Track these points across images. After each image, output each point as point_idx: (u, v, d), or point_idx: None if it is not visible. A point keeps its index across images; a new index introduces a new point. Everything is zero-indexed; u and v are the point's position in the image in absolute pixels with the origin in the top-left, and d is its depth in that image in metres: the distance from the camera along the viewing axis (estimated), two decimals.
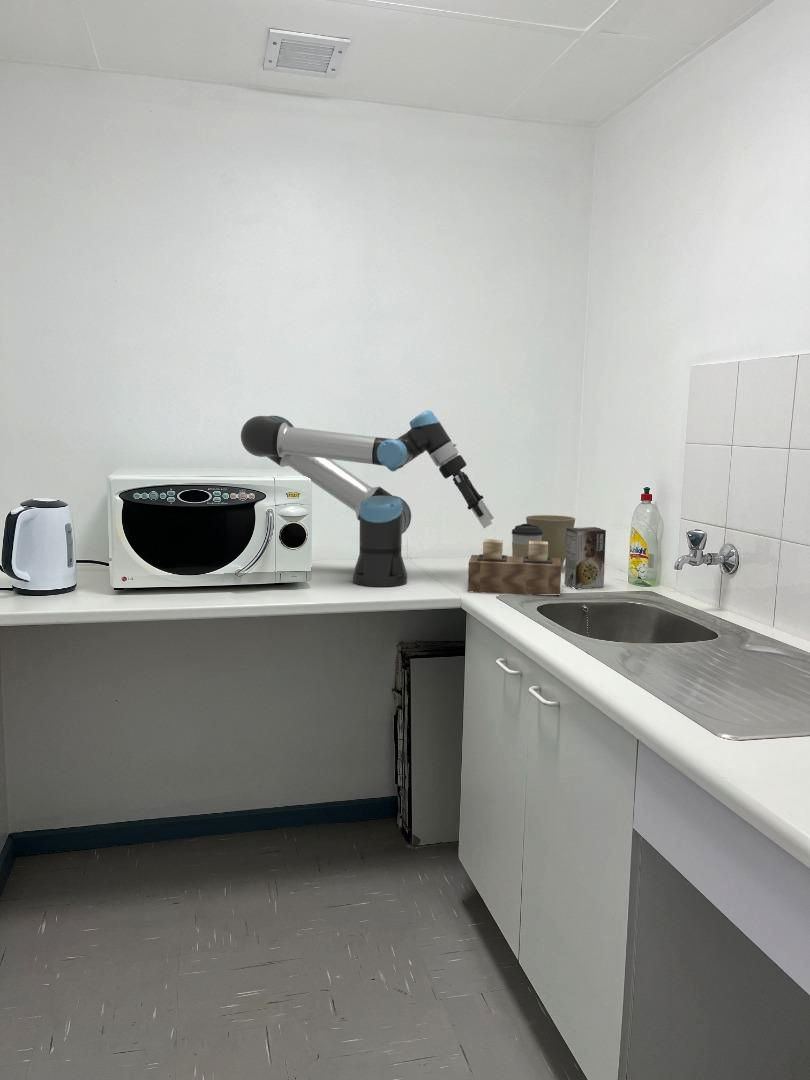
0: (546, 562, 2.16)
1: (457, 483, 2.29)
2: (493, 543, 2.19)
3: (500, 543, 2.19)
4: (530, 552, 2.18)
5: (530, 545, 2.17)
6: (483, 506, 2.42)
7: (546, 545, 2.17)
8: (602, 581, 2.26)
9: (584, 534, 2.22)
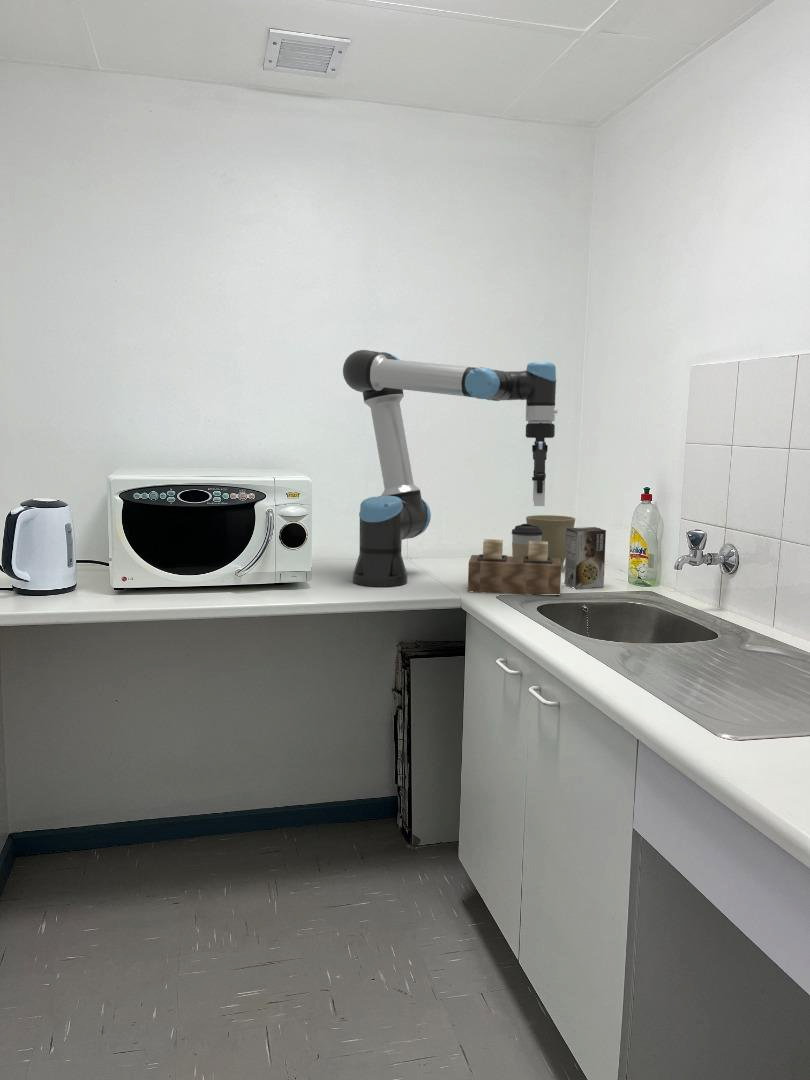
0: (546, 562, 2.16)
1: (537, 449, 2.10)
2: (493, 543, 2.19)
3: (500, 543, 2.19)
4: (530, 552, 2.18)
5: (530, 545, 2.17)
6: None
7: (546, 545, 2.17)
8: (602, 581, 2.26)
9: (584, 534, 2.22)
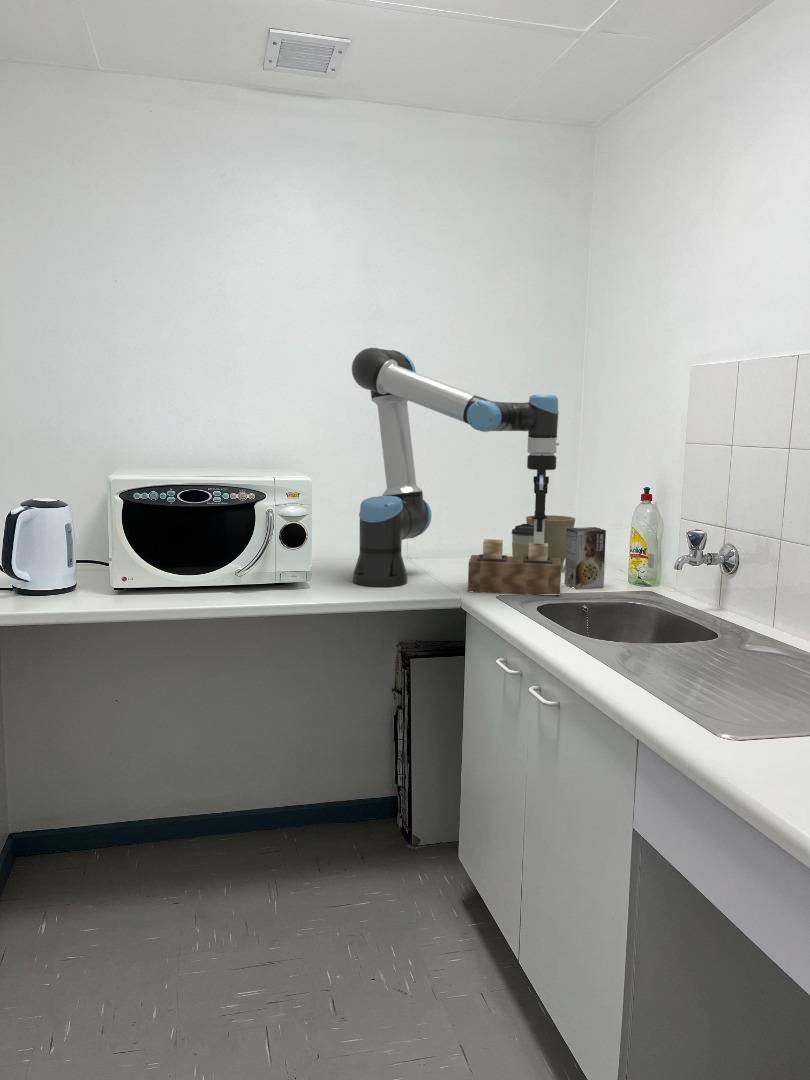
0: (546, 562, 2.16)
1: (538, 490, 2.12)
2: (493, 543, 2.19)
3: (500, 543, 2.19)
4: (530, 554, 2.18)
5: (530, 547, 2.17)
6: None
7: (546, 547, 2.17)
8: (602, 581, 2.26)
9: (584, 534, 2.22)
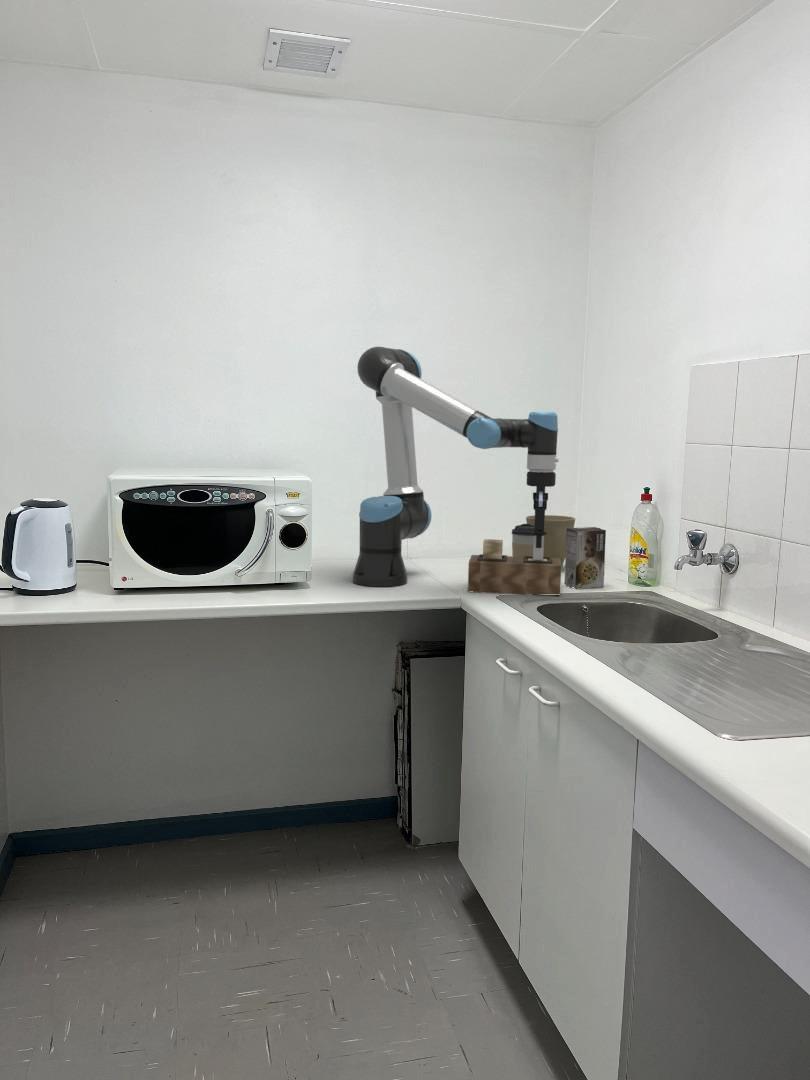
0: (546, 562, 2.16)
1: (537, 507, 2.13)
2: (493, 543, 2.19)
3: (500, 543, 2.19)
4: None
5: None
6: None
7: None
8: (602, 581, 2.26)
9: (584, 534, 2.22)
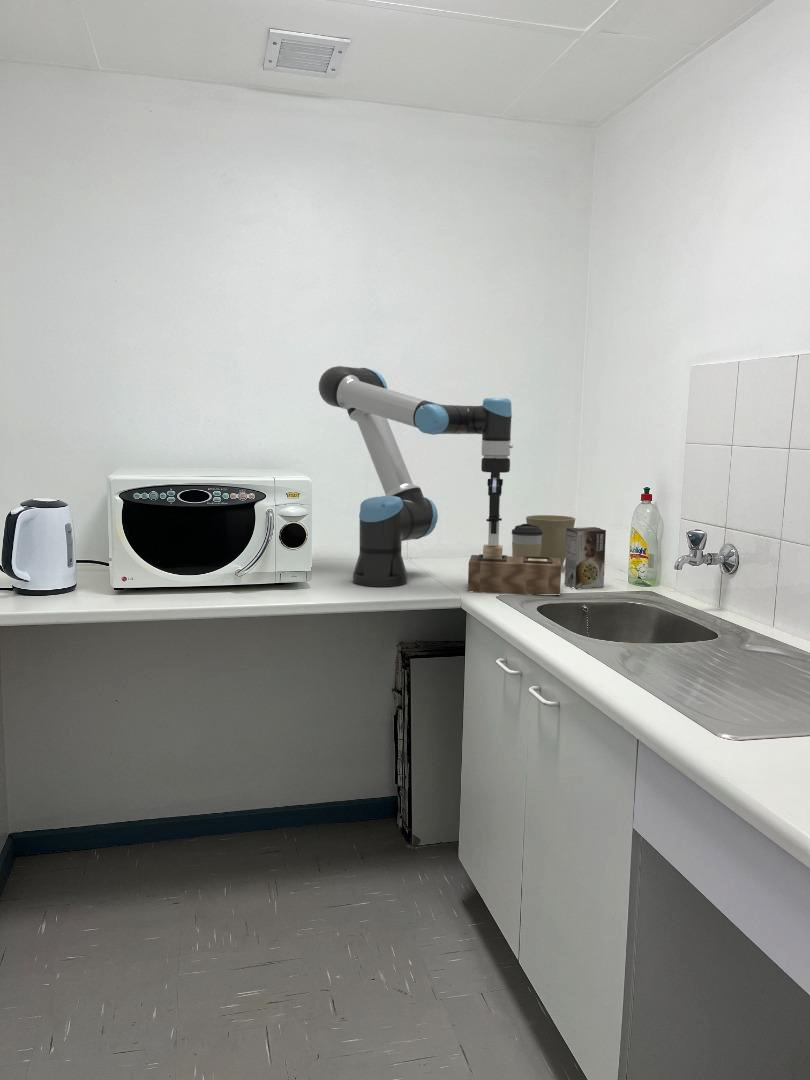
0: (546, 562, 2.16)
1: (491, 492, 2.14)
2: (493, 548, 2.19)
3: (500, 548, 2.19)
4: None
5: None
6: None
7: None
8: (602, 581, 2.26)
9: (584, 534, 2.22)
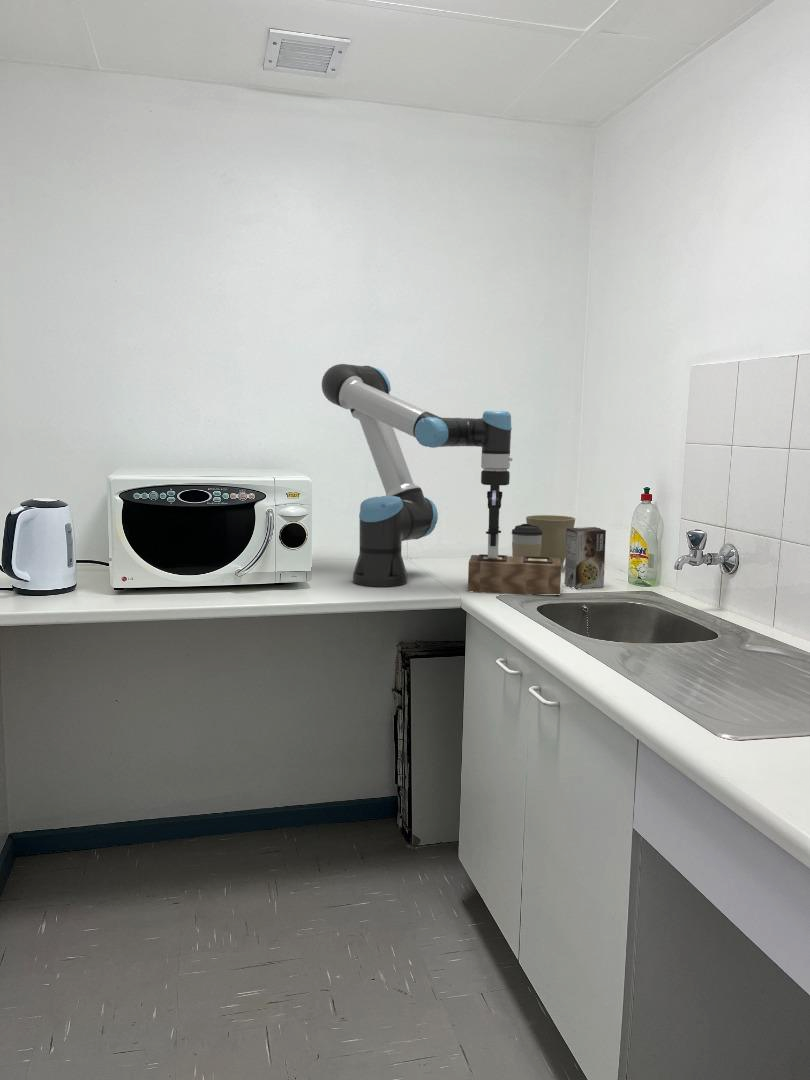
0: (546, 562, 2.16)
1: (490, 505, 2.15)
2: None
3: None
4: None
5: None
6: None
7: None
8: (602, 581, 2.26)
9: (584, 534, 2.22)
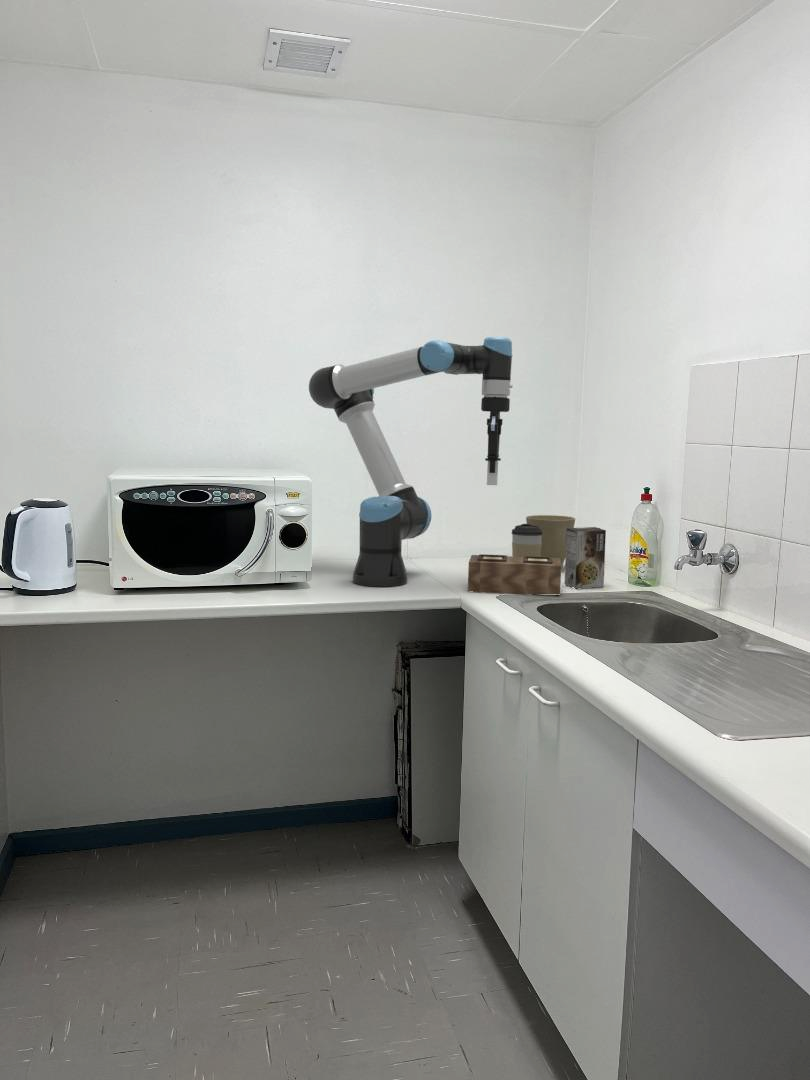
0: (546, 562, 2.16)
1: (489, 431, 2.16)
2: None
3: None
4: None
5: None
6: None
7: None
8: (602, 581, 2.26)
9: (584, 534, 2.22)
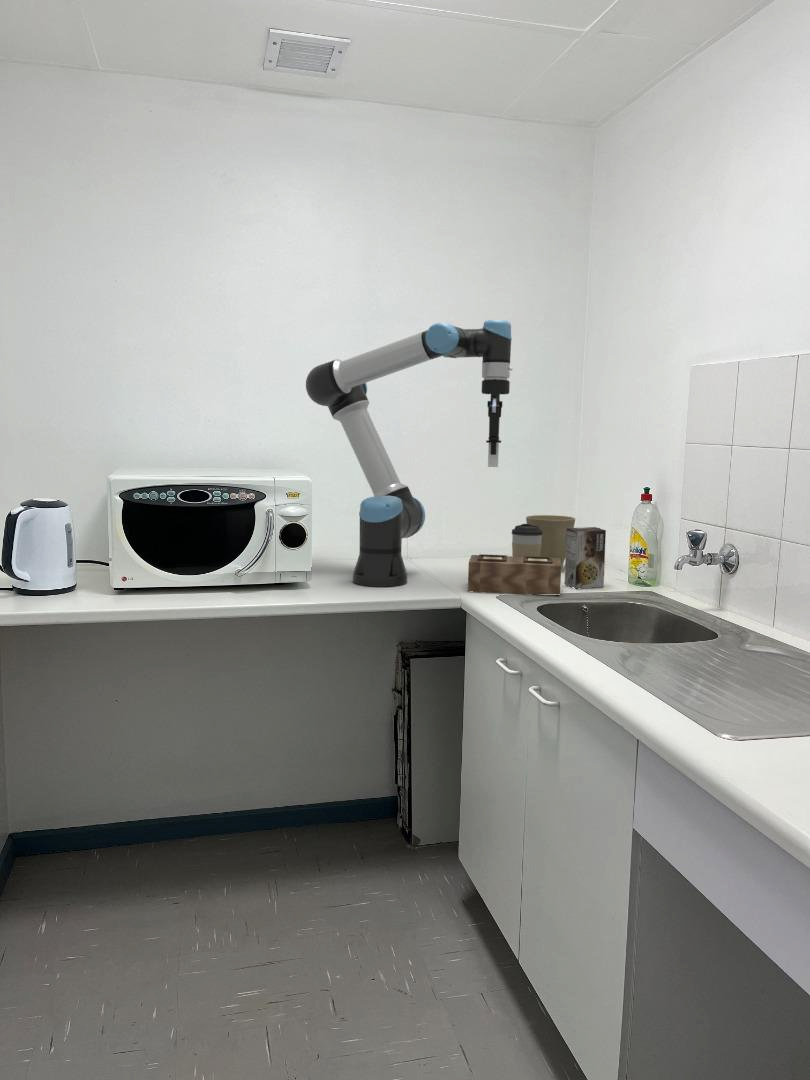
0: (546, 562, 2.16)
1: (491, 412, 2.19)
2: None
3: None
4: None
5: None
6: None
7: None
8: (602, 581, 2.26)
9: (584, 534, 2.22)
